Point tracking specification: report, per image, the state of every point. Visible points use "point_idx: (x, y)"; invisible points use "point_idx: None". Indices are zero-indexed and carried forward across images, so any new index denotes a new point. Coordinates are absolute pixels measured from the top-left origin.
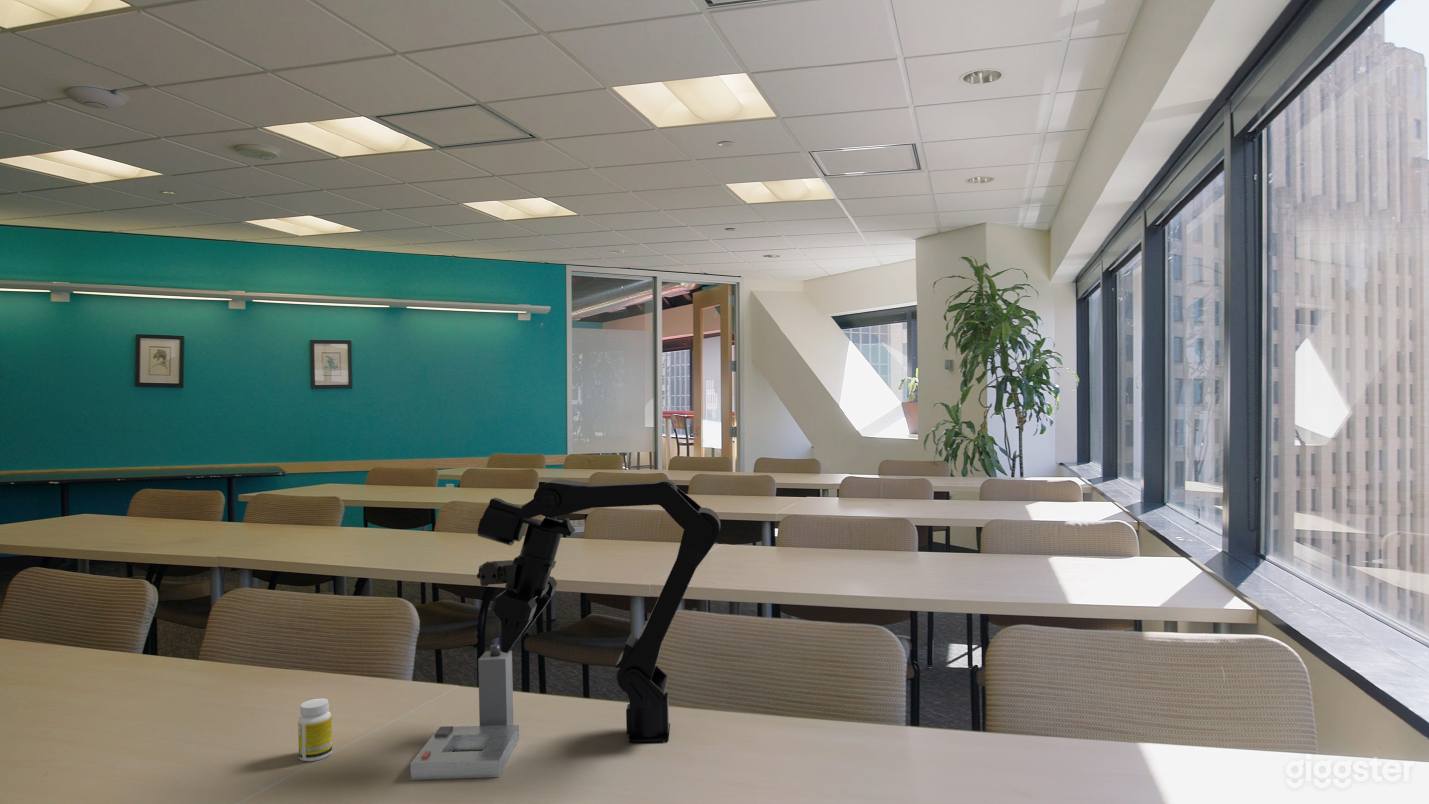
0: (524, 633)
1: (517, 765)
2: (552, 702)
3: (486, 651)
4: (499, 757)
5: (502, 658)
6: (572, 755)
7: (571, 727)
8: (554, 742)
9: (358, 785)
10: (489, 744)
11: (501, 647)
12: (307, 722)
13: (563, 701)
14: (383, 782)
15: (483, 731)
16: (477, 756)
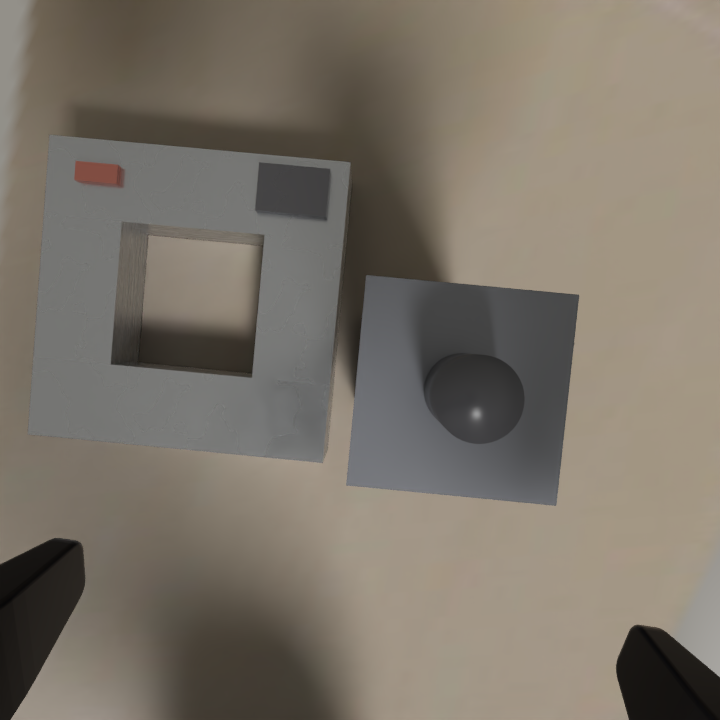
0: (627, 706)
1: (137, 469)
2: (653, 532)
3: (575, 303)
4: (50, 433)
5: (366, 460)
6: (182, 632)
7: (403, 616)
8: (289, 568)
9: (73, 3)
10: (160, 381)
11: (14, 560)
12: None
13: (655, 573)
14: (82, 76)
15: (280, 340)
16: (68, 356)
